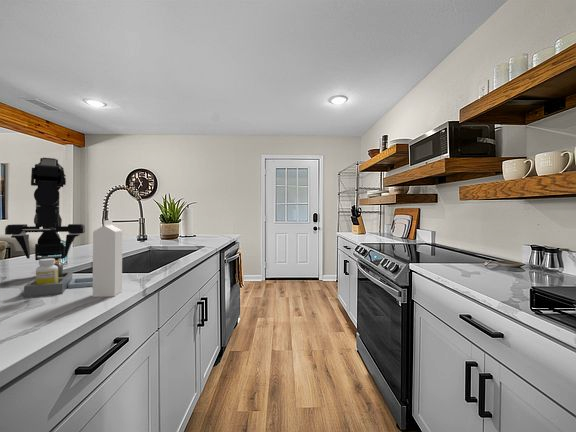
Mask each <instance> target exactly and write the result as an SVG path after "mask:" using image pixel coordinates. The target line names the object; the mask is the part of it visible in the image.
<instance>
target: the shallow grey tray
mask: <svg viewBox="0 0 576 432" xmlns="http://www.w3.org/2000/svg"><path fill="white" fill-rule="evenodd" d="M63 263H64V262H61V259H59V260H56V261H55V264H54V265H55V266H57V267H58V283H51V284H37V285H36V277H35V278H34V279H32V280H31V281H29V282H28V283H27V284H25V285H24V286H23V297H24V298H27V297H39V296H41V297H42V296H51V295H52V296H53V295H61V294H62V295H63V294H64V292H65V291H66V290H67V289H68V284H69V283H70V282H71V280H72V279H73V271H69V272H68V271H67V272H65V271H64V264H63Z"/></svg>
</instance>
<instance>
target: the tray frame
mask: <svg viewBox="0 0 576 432" xmlns="http://www.w3.org/2000/svg"><path fill="white" fill-rule="evenodd" d="M81 281H88V282H81ZM87 286H90V287H93V276H92V277H80V278H79V277H78V278H72V280H71V282H70V283H69V284H68V287H67V289H74V287H77V288H87Z"/></svg>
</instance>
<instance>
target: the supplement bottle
mask: <svg viewBox="0 0 576 432" xmlns="http://www.w3.org/2000/svg"><path fill="white" fill-rule="evenodd" d="M54 264H55V259H54V258H49V259H40V260H38V265H39V266H38V267H36V268H35V278H36V285H37V284H51V283H58V267H57V266H55V265H54Z"/></svg>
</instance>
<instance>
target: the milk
mask: <svg viewBox="0 0 576 432" xmlns="http://www.w3.org/2000/svg"><path fill="white" fill-rule="evenodd" d="M92 277H93V281H92V282H93V286H92V297H93V298H100V297H101V298H102V297H105V298H106V297H107V298H108V297H116V296H118V295H119V294H120V293H121V292H123V230H122V228H121V229H120V228H118V227H117V226H115V225H113V220H112V219H109V220H108V219H107V220H103V225H102V226H100V227H99V228H97V229H95V230H93V232H92Z"/></svg>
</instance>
